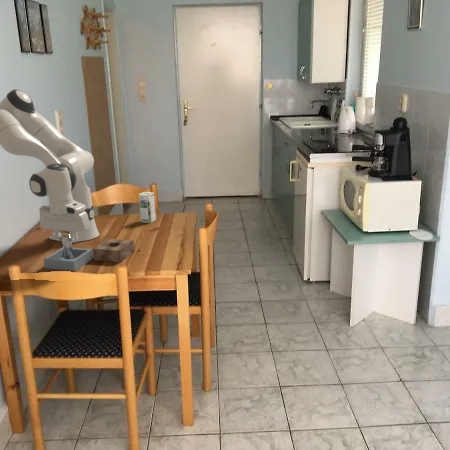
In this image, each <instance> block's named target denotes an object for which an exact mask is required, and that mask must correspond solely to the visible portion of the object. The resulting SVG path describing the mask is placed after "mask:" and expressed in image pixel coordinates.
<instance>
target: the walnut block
mask: <svg viewBox="0 0 450 450" xmlns="http://www.w3.org/2000/svg"><path fill="white" fill-rule="evenodd" d="M92 250H93V258H94V259H93V260H94V261H98V262H108V263H109V262H111V263H120V262H121V263H123V262H124V261H125V260H126V259H128V258H129V257H130V256H132V255H133V254H134V253H135V241H134V240H129V239H112V238H106V239H105V240H104V241H102V242H101V243H99V244H98V245H96V246H95V247H93V248H92ZM132 253H133V254H132ZM127 257H128V258H127ZM123 260H124V261H123Z"/></svg>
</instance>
